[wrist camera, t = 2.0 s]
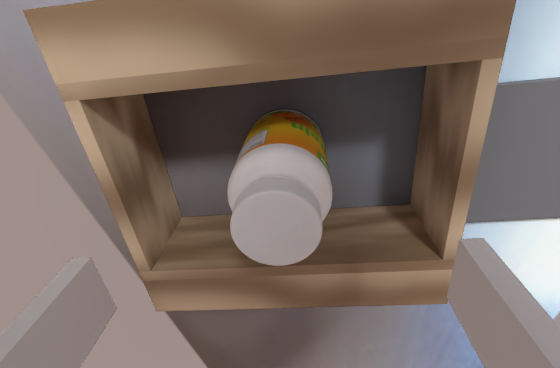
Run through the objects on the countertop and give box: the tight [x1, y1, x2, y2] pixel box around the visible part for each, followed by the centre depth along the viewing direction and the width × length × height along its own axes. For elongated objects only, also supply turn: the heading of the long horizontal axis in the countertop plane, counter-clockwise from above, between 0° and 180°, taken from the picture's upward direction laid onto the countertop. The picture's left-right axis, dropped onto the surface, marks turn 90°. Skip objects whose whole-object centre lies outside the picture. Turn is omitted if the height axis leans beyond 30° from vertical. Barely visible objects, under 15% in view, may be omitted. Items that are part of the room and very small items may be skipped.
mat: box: [466, 77, 560, 222], centre depth 21 cm, size 10×10×1 cm
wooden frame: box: [23, 0, 516, 311], centre depth 19 cm, size 19×20×6 cm
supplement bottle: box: [227, 109, 332, 266], centre depth 17 cm, size 5×5×10 cm
